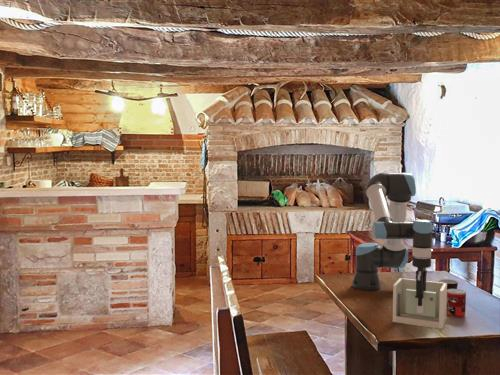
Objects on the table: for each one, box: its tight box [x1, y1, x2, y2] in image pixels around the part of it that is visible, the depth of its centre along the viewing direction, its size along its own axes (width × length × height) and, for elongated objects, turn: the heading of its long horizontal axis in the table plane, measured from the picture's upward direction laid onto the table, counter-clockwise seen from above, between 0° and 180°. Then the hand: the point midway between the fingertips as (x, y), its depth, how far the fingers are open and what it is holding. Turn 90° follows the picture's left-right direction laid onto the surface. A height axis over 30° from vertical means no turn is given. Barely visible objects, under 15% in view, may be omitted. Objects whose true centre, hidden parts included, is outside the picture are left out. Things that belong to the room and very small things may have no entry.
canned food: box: [446, 288, 467, 319], centre depth 233 cm, size 8×8×11 cm
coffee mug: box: [438, 278, 459, 290], centre depth 255 cm, size 12×9×10 cm
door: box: [406, 289, 436, 317], centre depth 221 cm, size 12×3×10 cm, turn 63°
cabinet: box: [392, 277, 447, 330], centre depth 225 cm, size 20×14×16 cm
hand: (420, 312), depth 221 cm, fingers closed on door, 2 cm apart
